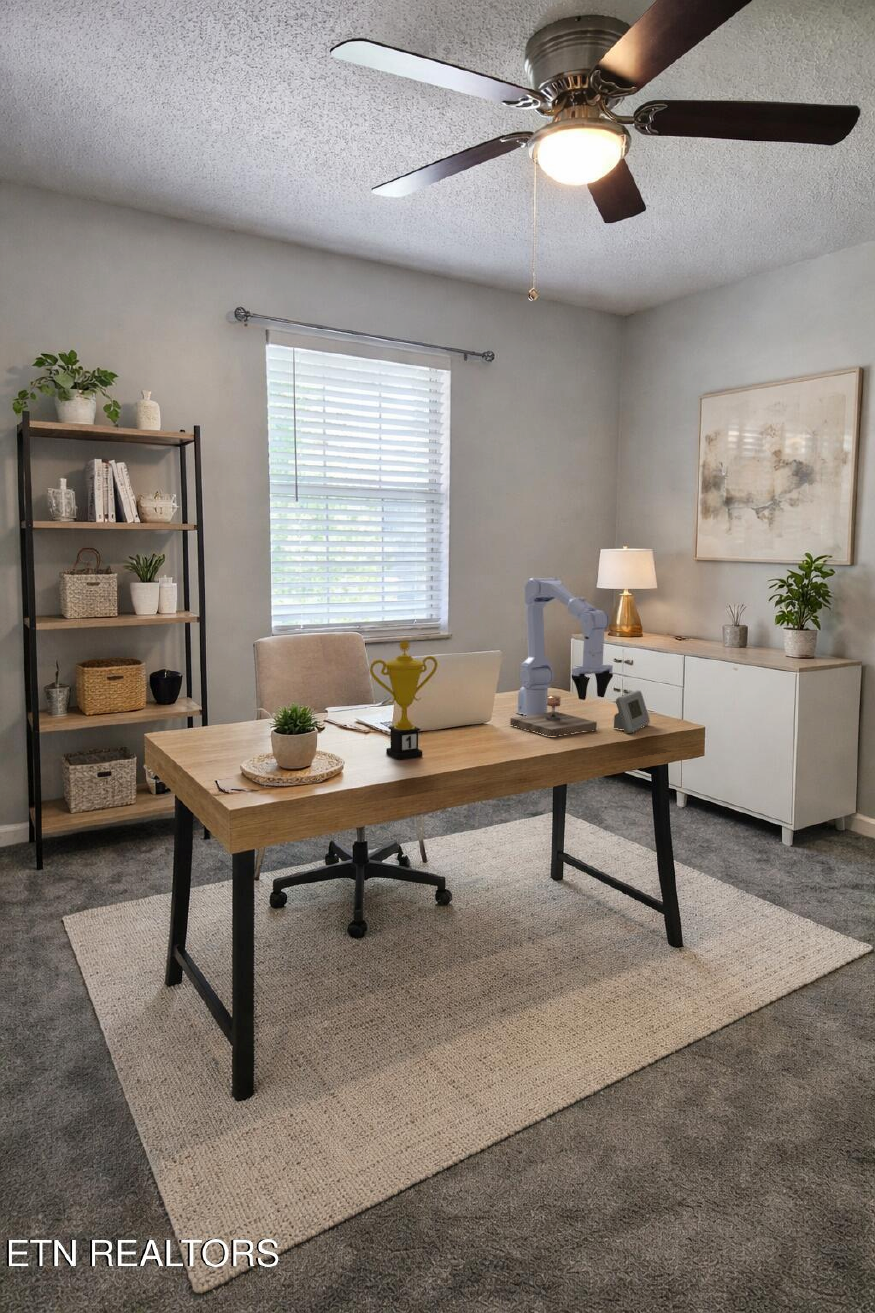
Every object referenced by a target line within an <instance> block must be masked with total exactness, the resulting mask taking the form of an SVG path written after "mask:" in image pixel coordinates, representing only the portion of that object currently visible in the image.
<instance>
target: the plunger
mask: <svg viewBox="0 0 875 1313" xmlns="http://www.w3.org/2000/svg"><path fill="white" fill-rule="evenodd" d="M547 707H551V712H552V717H555V712H556V707H561V696H560V695H547Z"/></svg>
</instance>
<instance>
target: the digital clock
mask: <svg viewBox="0 0 875 1313" xmlns="http://www.w3.org/2000/svg"><path fill="white" fill-rule="evenodd" d="M615 704H616V708H617V711H618V712H617V713H615V714H614V717H613V729H614V728H618V729H624V731H623V732H625V733H626V732H627V733H626V734H632V733H634V732H633V731H636V730H638V729H640V728H641V727H643V726H645V725H646V726H648V725H649V724H651V719H650V716H649V712H648V710H647V706H646V704H645V699H644V696H643V693H642V691H641V690H639V689H637V690H634V691H633V690H631V691H630V692H627V693H624V694H621V696H619V697H616V699H615ZM646 726H645V727H646ZM640 730H641V729H640ZM638 731H639V730H638ZM631 732H632V733H631ZM636 732H637V731H636Z"/></svg>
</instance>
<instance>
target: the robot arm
mask: <svg viewBox="0 0 875 1313" xmlns="http://www.w3.org/2000/svg"><path fill="white" fill-rule="evenodd" d="M524 598H525V599H524V600H525V614H526V616H525V617H526V637H527V638H526V640H527V641H526V642H527V658H526V659H525V660H524V661H523V662H521V664H520V673H519V680H520V681H519V682H520V683H521V686H522V687H520V689H519V691H518V694H517V711H515V714H518V713H522V714H525V715H534V714H541V713H548V706H547V696H548V692H549V691H548V689H549V688H550V686H551V685H552V684H553V681H554V678H555V677H554V672H553V668H552V662H551V661H549V659H547V657H546V652H545V651H546V649H545V645H546V644H545V626H544V625H545V624H544V622H545V621H544V607H546V605H547V604H549V603H550V602H552V601H554V600H555V599H556V600H557V601H558V602H560V603H561V604H563V605H565V606H566V607H567V612H568V613H569V614H570V615H571V616H572V617H573V618H575V619H576V620H578V622H579V624H580V627H581V631H582V633H581V634H582V636H583V652H582V655H583V656H582V666H581V665H580V666H577V667H573V668H571V680H572V681H573V682H574V686H575V689H576V692H577V697H578V700H581V701H585V700H586V699H587V692H588V690H587V689H588V685H589V683H590V680H591V677H589V676H587V675H594V676H595V680H596V696H597V697H599V698H605V694H606V692H607V688H608V686H609V684H610V681H612V679H613V677H614V673H613V665H612V664H604V645H605V644H604V643H605V630H606V629H607V628H608V627H609V624H610V617H609V614H608V613H607V612H606V611H605V609H597V608H596V607H595V606H594V605H591V603H589V602H587V601H586V598H585V597H584V596H577V597H575V596H574V595H573V594H572V593H571V592H570V591H569V590H568V589H567V588H566V587H564V585H563V581H562V580H560V579H558V578H557V577H545V578H544V577H542V578H541V577H537V578H536V577H531V578H529V579H528V581H527V582H526V583H525V585H524ZM525 715H524V716H525Z"/></svg>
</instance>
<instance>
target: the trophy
mask: <svg viewBox="0 0 875 1313" xmlns="http://www.w3.org/2000/svg"><path fill="white" fill-rule="evenodd" d="M398 647H399V650H400V651H401V652H403V654H399V655H397V657H396V658H395V659H391V660H389V661H387V662H385V661H384V660H381V659H376V660H374V661H373V662H372V663H371V664H370V667H369V673H370V675H371V676H372V678H373V679H374V680H375V681H376V682H377V684H378V685H380V686H381V687H382V688H384V689H385V691H387V692H389V693H390V694H391V696H392V697H393V698H392V699H393V700H391V701H389V700H386V701H387V703H388V704H392V703H394V702H395V703H396V705H398V706H399V707H400V708H401V716H400V719H399V720H398V721H397V723H396V724H395V725H393V726H389V727H388V728H387V729H388V730H390V747H386V748H385V749H386V750H385V751H386V755H387V756H390V757H391V758H393V759H395V760H399V761H401V760H408V759H416V758H422V757H423V751H422V749H419V731H421V728H419V727H417V726H415V725H413V723H412V721H411V720H409V718H408V708H409V707H410V706H411V705H412V703H414V700H415V701H420V700H422V697H419V698H417V697H416V695H417V693H418V692H419V690H420V689H422V688H423V686H424V685H425V684H426V683H427V682H429V681H430V679H431V678H432V677H433V675H434V674H435V673H436V671H437V668H438V661H437V659H436V658H435V657H434V656H432V655H429V656H426V657H425V658H424V659H423V660H422V661H419V660H417V659H415V658H413V657H412V655H411V654H410V655H409V654H406V652H407V651H409V649H410V647H411V645H410V642H409V641H408V640H406V639H403V640H401V641H400V642H399V645H398ZM427 660H431V661H433V663H434V666H433V669H432V670H431V672H430V673H429V674H428V675H427V677H425V679H424V680H422V682H420V684H419V681H420V676H421V674H422V673H425V672H426V671H427V669H428V667H427V665H426V662H427ZM377 664H381V665H382V668H381V672H380V673H381V674H382V675H383V676H389V681H390V686H391V688H390V687H389V686H387V684H385V683H384V682H382V681H381V680H380V678H378V677H377V676H376V675H375V673H374V671H373V669H374V667H375V665H377ZM385 670H386V672H385Z"/></svg>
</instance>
